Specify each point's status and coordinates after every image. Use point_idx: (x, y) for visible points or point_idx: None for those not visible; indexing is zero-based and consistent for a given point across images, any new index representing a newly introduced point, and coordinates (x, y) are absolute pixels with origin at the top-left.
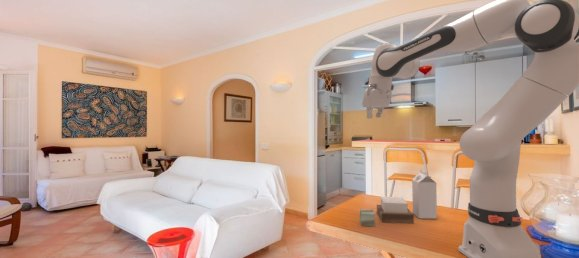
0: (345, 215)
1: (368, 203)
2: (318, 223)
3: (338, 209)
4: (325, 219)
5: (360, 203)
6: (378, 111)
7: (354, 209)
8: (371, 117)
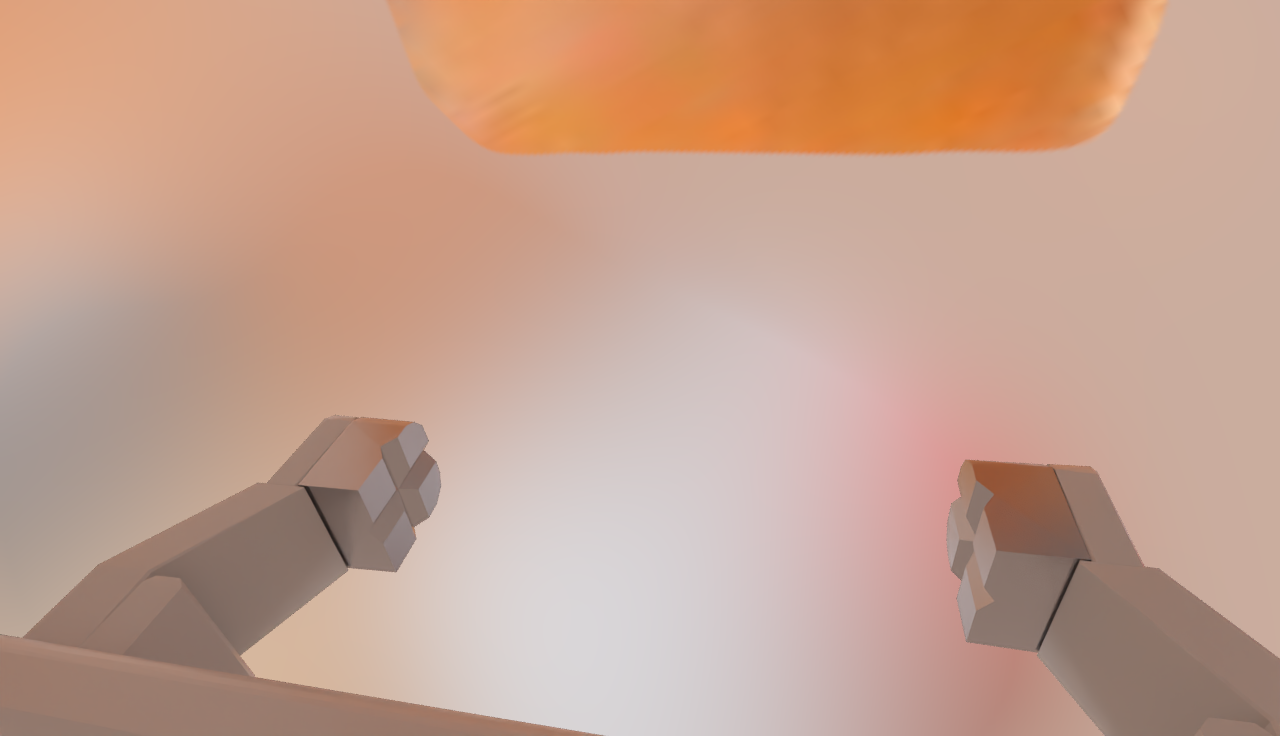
0: (894, 39)
1: (577, 36)
2: (1123, 98)
3: (808, 130)
4: (1030, 101)
5: (614, 79)
6: (287, 588)
7: (748, 51)
8: (1039, 480)
